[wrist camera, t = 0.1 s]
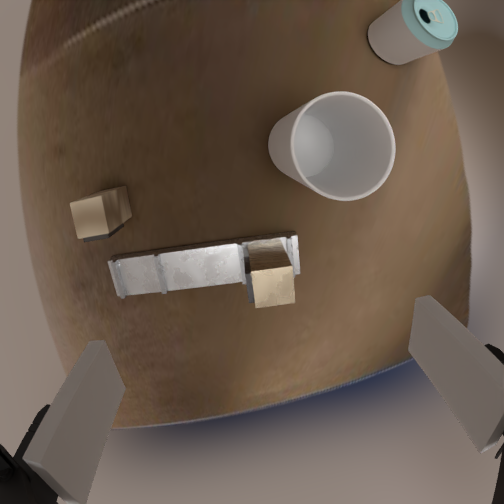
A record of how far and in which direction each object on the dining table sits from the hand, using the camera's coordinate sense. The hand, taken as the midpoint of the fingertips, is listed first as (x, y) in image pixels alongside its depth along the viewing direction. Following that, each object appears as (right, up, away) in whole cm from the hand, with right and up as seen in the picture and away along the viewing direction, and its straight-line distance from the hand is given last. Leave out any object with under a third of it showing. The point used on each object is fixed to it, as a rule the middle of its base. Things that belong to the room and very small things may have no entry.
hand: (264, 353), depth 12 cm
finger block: (-18, +10, +25) cm, 32 cm away
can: (+18, +32, +20) cm, 41 cm away
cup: (+5, +17, +24) cm, 30 cm away
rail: (-7, +3, +28) cm, 29 cm away
